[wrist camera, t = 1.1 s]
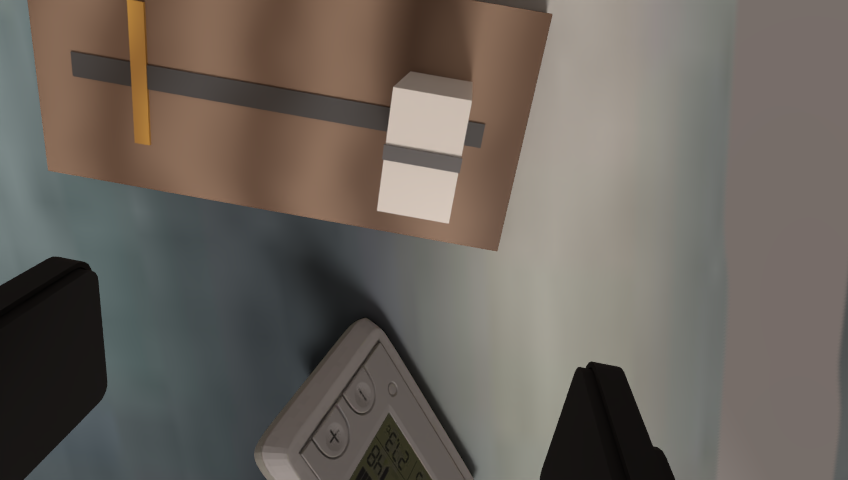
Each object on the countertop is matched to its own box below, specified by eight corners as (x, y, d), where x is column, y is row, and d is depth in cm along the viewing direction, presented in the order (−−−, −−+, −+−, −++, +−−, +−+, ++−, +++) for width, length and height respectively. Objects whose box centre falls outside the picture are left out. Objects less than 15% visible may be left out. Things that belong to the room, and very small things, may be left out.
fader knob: (473, 82, 26) (473, 101, 20) (454, 181, 28) (449, 224, 22) (409, 70, 26) (391, 87, 20) (395, 171, 28) (375, 211, 22)
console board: (547, 13, 26) (552, 14, 24) (495, 237, 31) (497, 252, 29) (49, -72, 27) (15, -79, 25) (73, 161, 32) (46, 171, 30)
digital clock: (482, 492, 39) (485, 653, 29) (364, 508, 41) (329, 666, 31) (422, 298, 33) (400, 417, 23) (287, 326, 35) (215, 448, 25)
